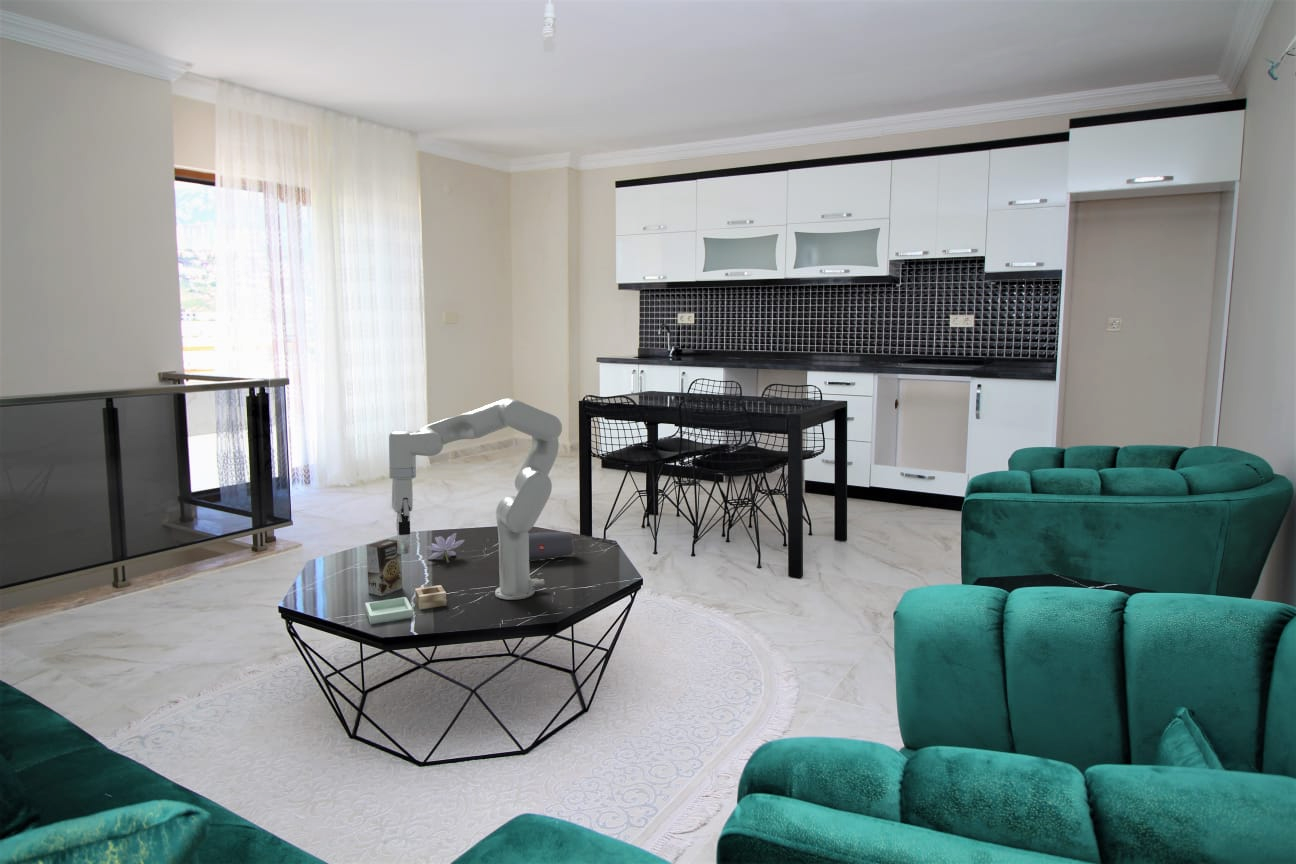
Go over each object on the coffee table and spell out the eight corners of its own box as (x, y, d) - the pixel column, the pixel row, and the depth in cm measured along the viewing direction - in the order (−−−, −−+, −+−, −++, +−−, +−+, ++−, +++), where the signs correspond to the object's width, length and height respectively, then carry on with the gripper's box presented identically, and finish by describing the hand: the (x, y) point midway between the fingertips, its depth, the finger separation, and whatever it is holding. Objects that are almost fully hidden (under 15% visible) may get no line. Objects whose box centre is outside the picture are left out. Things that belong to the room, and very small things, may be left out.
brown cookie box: (382, 596, 251) (379, 547, 249) (367, 593, 254) (365, 544, 252) (403, 588, 259) (401, 540, 257) (389, 585, 262) (387, 538, 260)
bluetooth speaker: (510, 565, 283) (509, 538, 282) (508, 557, 292) (507, 531, 291) (573, 560, 289) (572, 534, 287) (569, 553, 298) (569, 527, 296)
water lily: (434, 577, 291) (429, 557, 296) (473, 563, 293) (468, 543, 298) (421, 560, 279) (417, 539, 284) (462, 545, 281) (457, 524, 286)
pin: (396, 551, 238) (396, 512, 237) (408, 550, 240) (408, 511, 238) (397, 554, 235) (397, 515, 234) (410, 553, 237) (410, 514, 235)
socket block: (441, 597, 250) (440, 585, 250) (446, 605, 243) (446, 592, 243) (415, 601, 247) (414, 588, 246) (419, 609, 240) (419, 596, 239)
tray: (406, 604, 244) (406, 596, 244) (413, 617, 233) (412, 609, 233) (365, 610, 239) (365, 602, 238) (370, 624, 228) (369, 616, 228)
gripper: (386, 468, 240) (387, 527, 243) (393, 478, 225) (394, 540, 228) (411, 467, 243) (412, 525, 246) (420, 476, 229) (420, 538, 231)
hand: (403, 532), depth 237 cm, fingers closed on pin, 3 cm apart
